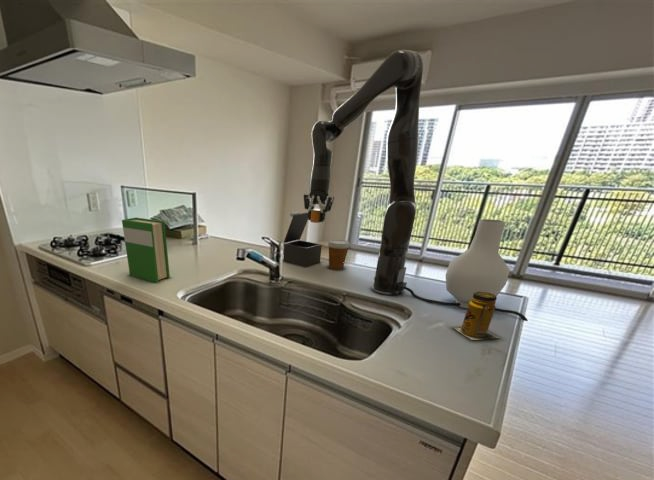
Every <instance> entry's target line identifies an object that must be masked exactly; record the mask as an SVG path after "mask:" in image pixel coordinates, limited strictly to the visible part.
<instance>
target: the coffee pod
mask: <svg viewBox="0 0 654 480" xmlns="http://www.w3.org/2000/svg"><path fill="white" fill-rule="evenodd" d="M310 210H311V219H310V220H309V221H310V223H316V224H319V223H321V222H319V219H320V213H321V210H320V208H314V209H310Z"/></svg>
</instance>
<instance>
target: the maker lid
mask: <svg viewBox="0 0 654 480" xmlns="http://www.w3.org/2000/svg"><path fill="white" fill-rule="evenodd" d="M289 215H290V217H292V218H291V220H290V221H291V222H289V223H290V224H289V227H288V229H287V232H286V235H285V237H284V240H283V243H289V242H293V241H297V240H301V238H302V235H303V233H304V231H305V228H306V225H307V223H308V221H309V220H308V211H307V212H301V213H300V211H295V212H290V213H289Z"/></svg>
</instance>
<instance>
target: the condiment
mask: <svg viewBox="0 0 654 480" xmlns="http://www.w3.org/2000/svg"><path fill="white" fill-rule="evenodd" d="M497 299H498V297H496V296H495V295H493V294H491V293H486V292H475V293H474V294H473V298H472V301H470V302H469V305H468V308H466V312H465V315H464V318H463V322H462V324H461V327H457V328H456V327H454V328H453V329H454V330H456V331H457V332H458V333H460V334H461V335H463V336H464V337H466V338H467V339H469V340H471V341H478V340H480V341H481V340H491V339H492V340H493V339H501V337H500V336H497V335H495V334H493V333H492V332H490V331H488V330H489V328H490V324H491V322H492V319H493V316H494V314H495V312H496V311H495V308H496V302H497Z"/></svg>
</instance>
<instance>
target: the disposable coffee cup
mask: <svg viewBox="0 0 654 480" xmlns="http://www.w3.org/2000/svg"><path fill="white" fill-rule="evenodd" d="M327 246H328V268H329V269H331V270H342V269H344V267H345V262H346V258H347V255H348V251H349V248H350V246H351V244H350V241H349V240H345V239H330V240H329V241H328V243H327ZM343 262H344V263H343Z"/></svg>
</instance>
